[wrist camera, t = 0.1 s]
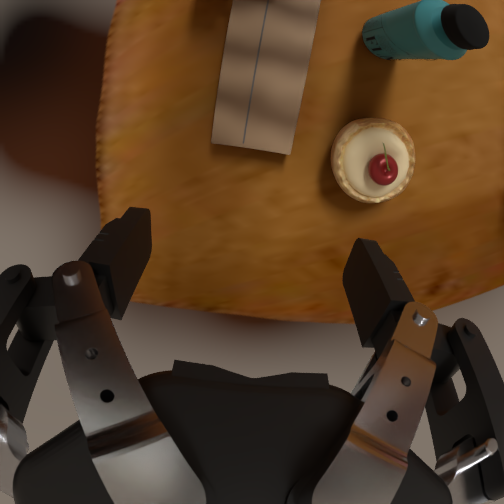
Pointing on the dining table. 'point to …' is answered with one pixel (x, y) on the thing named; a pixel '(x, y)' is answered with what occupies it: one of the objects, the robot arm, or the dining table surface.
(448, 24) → the beverage bottle
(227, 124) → the board
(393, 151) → the pastry
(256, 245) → the dining table surface
